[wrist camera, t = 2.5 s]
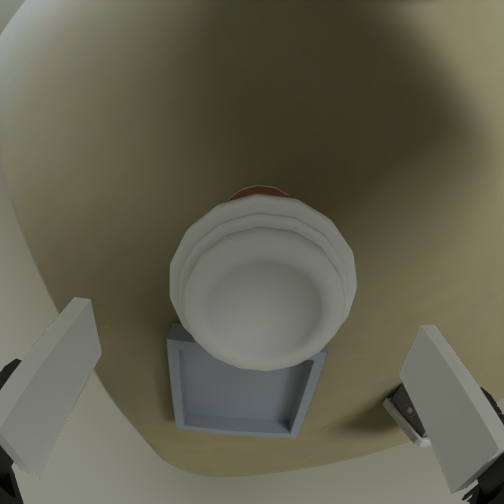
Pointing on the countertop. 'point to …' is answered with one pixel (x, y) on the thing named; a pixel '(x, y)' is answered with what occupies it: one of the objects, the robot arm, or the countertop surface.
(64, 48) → the countertop surface
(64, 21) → the countertop surface
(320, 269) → the coffee cup
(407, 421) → the electrical switch
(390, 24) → the countertop surface
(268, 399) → the dock tray
